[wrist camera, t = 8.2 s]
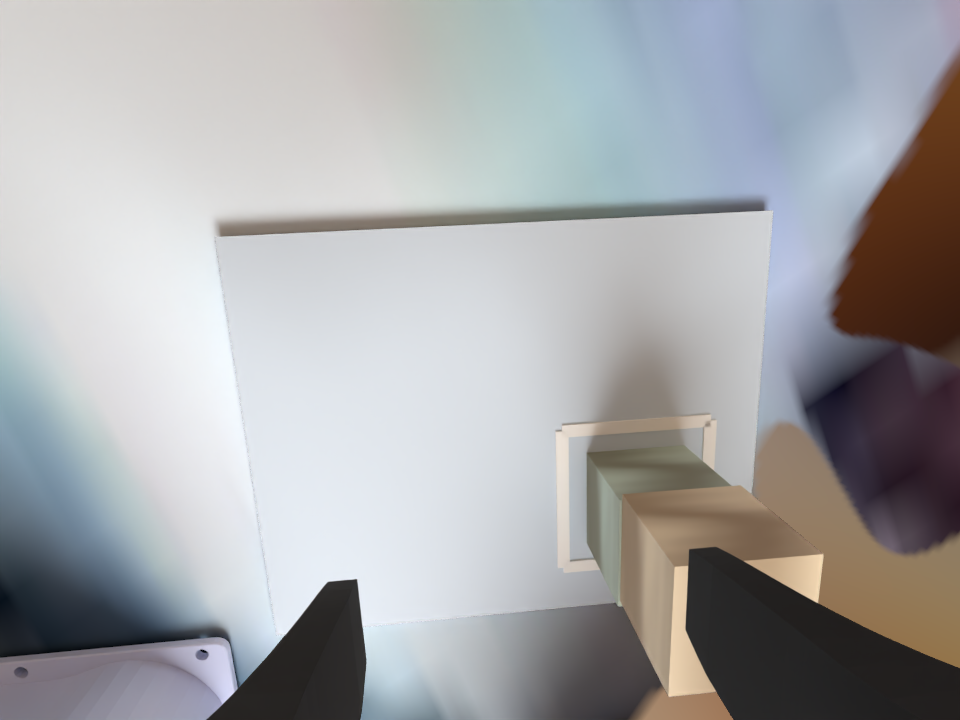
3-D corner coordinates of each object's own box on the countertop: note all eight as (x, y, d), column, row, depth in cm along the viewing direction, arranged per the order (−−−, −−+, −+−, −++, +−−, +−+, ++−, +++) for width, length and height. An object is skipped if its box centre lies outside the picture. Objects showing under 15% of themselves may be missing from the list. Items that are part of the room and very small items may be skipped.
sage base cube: (586, 542, 23) (618, 606, 19) (586, 452, 22) (619, 500, 18) (680, 534, 23) (730, 595, 19) (684, 444, 22) (737, 490, 18)
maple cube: (619, 600, 19) (668, 696, 15) (622, 494, 18) (674, 566, 14) (732, 590, 19) (808, 682, 15) (740, 485, 18) (824, 554, 14)
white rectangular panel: (279, 627, 23) (275, 637, 22) (219, 236, 19) (213, 236, 19) (738, 583, 24) (746, 591, 24) (765, 210, 21) (774, 210, 20)
